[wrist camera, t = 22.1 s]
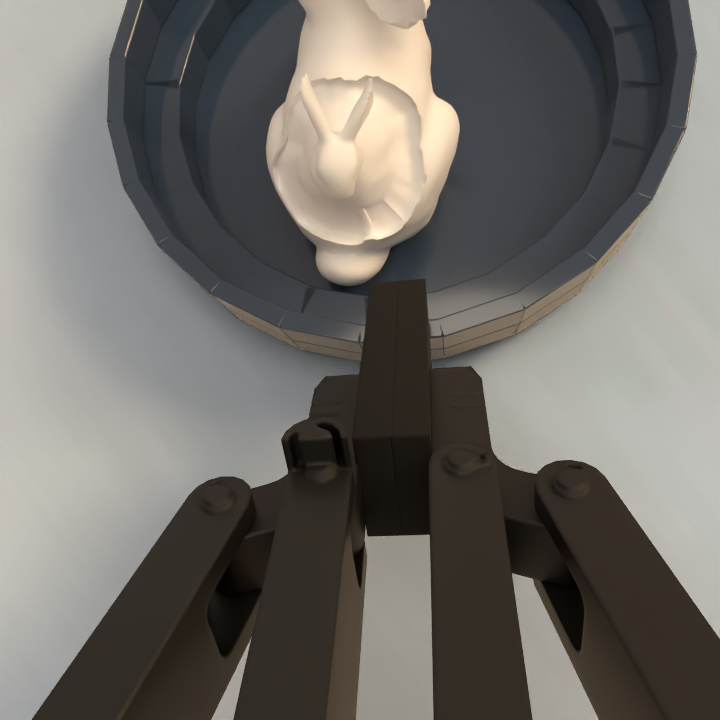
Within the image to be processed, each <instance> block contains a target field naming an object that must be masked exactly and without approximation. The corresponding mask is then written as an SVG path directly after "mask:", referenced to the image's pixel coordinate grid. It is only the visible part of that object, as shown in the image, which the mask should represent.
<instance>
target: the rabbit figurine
mask: <svg viewBox="0 0 720 720" xmlns="http://www.w3.org/2000/svg"><path fill="white" fill-rule="evenodd" d="M298 1H299V2H300V4H301V5H302V6H303V8H304V9H305V11H306V18H305V21H304V24H303V27H302V31H301V35H300V42H299V49H298V58H297V66H296V71H295V73H294V76H293V78H292V81H291V84H290V87H289V90H288V93H287V97H286V101H285V102H284V103H283V104H282V105H281V106H280V107H279V108H278V109H277V110H276V112H275V113H274V115H273V117H272V119H271V122H270V125H269V130H268V135H267V143H266V158H267V165H268V169H269V173H270V175H271V178H272V181H273V184H274V187H275V189H276V191H277V193H278V195H279V197H280V199H281V200H282V202H283V204H284V205H285V207H286V209H287V210H288V212H289V213H290V215H291V217H292V218H293V220H294V221H295V222H296V224H297V225H298V227H299V228H300V230H301V231H302V233H303V234H304V235H305V236H306V237H307V238H308V239H309V240H310V241H311V242H312V243H313V244H315V245H316V248H317V251H316V265H317V268H318V270H319V272H320V274H321V275H322V276H323V277H324V278H325V279H327V280H329V281H330V282H333V283H335V284H338V285H341V286H355V285H359V284H362V283H365V282H366V281H368V280H370V279H371V278H372V277H373V276H375V275H376V274H377V273H378V272H379V271H380V270H381V268H382V267H383V265H384V263H385V261H386V260H387V257H388V255H389V251H390V249H391V247H393V246H394V245H397V244H399V243H401V242H403V241H405V240H407V239H409V238H411V237H413V236H414V235H416V234H417V233H418V232H419V231H420V230H421V229H422V228H423V227H424V226H425V225H426V224H427V223H428V222H429V220H430V218H431V217H432V215H433V213H434V210H435V208H436V205H437V202H438V198H439V195H440V193H441V191H442V188H443V186H444V184H445V182H446V179H447V176H448V173H449V169H450V166H451V164H452V161H453V159H454V156H455V153H456V148H457V143H458V137H459V131H460V125H459V119H458V116H457V114H456V112H455V110H454V109H453V107H452V106H451V105H450V104H448V103H447V102H445V101H444V100H442V99H440V98H438V97H437V96H436V95H435V94H434V92H433V88H432V82H431V73H430V68H431V44H430V41H429V38H428V36H427V34H426V31H425V27H424V23H423V20H422V19H424V18H427V9H428V8H429V6H430V0H298Z"/></svg>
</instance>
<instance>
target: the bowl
mask: <svg viewBox="0 0 720 720" xmlns="http://www.w3.org/2000/svg"><path fill="white" fill-rule="evenodd" d="M305 18H306V11H305V9H304V8H303V6H302V5H301V4H300V2H299V1H298V0H127V3H126V6H125V10H124V13H123V16H122V19H121V22H120V26H119V29H118V32H117V35H116V38H115V41H114V45H113V48H112V51H111V54H110V58H109V82H108V108H107V122H108V128H109V132H110V136H111V140H112V144H113V148H114V152H115V156H116V161H117V165H118V169H119V173H120V177H121V181H122V185H123V187H124V190H125V191H126V193H127V195H128V196H129V198H130V200H131V202H132V203H133V205H134V207H135V208H136V210H137V212H138V213H139V215H140V217H141V218H142V220H143V222H144V223H145V225H146V227H147V228H148V230H149V232H150V233H151V235H152V237H153V238H154V240H155V242H156V243H157V245H158V246H159V247H160V248H161V249H162V250H163V251H164V252H165V253H166V254H167V255H168V256H169V257H170V258H171V259H173V260H174V261H175V262H176V263H177V264H178V265H179V266H180V267H181V268H182V269H183V270H185V271H186V272H187V273H188V274H189V275H190V276H191V277H192V278H193V279H194V280H196V281H197V282H198V283H199V284H200V285H201V286H202V287H203V288H204V289H205V290H206V291H208V292H209V293H210V294H211V295H212V296H213V297H214V298H216V299H217V300H218V301H219V302H220V303H221V304H223V305H224V306H225V307H226V308H227V309H228V310H230V311H231V312H232V313H233V314H234V315H235V316H237V317H238V318H239V319H241V320H242V321H244V322H246V323H248V324H250V325H252V326H254V327H256V328H258V329H260V330H262V331H264V332H266V333H268V334H270V335H272V336H274V337H276V338H278V339H280V340H282V341H284V342H286V343H288V344H290V345H292V346H294V347H296V348H298V349H302V350H305V351H310V352H315V353H320V354H325V355H330V356H335V357H341V358H346V359H351V360H356V361H361V357H362V349H363V341H364V332H365V324H366V316H367V307H368V299H369V290H370V283H374V282H387V281H400V280H414V279H426V292H427V306H428V319H429V333H430V346H431V359H443V358H444V357H450V356H453V355H456V354H459V353H462V352H465V351H468V350H471V349H474V348H477V347H480V346H483V345H486V344H489V343H492V342H495V341H498V340H501V339H504V338H507V337H510V336H513V335H514V334H518V333H519V332H521V331H522V330H524V329H525V328H527V327H528V326H530V325H531V324H533V323H534V322H536V321H537V320H539V319H541V318H542V317H544V316H545V315H547V314H548V313H550V312H551V311H553V310H554V309H556V308H557V307H559V306H560V305H562V304H564V303H565V302H567V301H568V300H570V299H571V298H573V297H574V296H576V295H577V293H579V292H580V291H581V290H582V289H583V288H584V287H585V286H586V284H587V283H588V282H589V281H590V280H591V279H592V278H593V277H594V275H595V274H596V273H597V272H598V271H599V270H600V269H601V268H602V266H603V265H604V264H605V263H606V262H607V261H608V260H609V259H610V257H611V256H612V255H613V254H614V253H615V252H616V251H617V250H618V248H619V247H620V246H621V245H622V244H623V243H624V242H625V240H626V239H627V237H628V236H629V234H630V233H631V231H632V230H633V228H634V227H635V225H636V224H637V222H638V221H639V219H640V218H641V216H642V215H643V213H644V212H645V210H646V209H647V207H648V206H649V204H650V203H651V201H652V200H653V198H654V196H655V194H656V192H657V190H658V187H659V185H660V183H661V181H662V179H663V177H664V175H665V173H666V171H667V169H668V167H669V165H670V162H671V160H672V158H673V156H674V154H675V152H676V150H677V148H678V146H679V144H680V142H681V139H682V137H683V135H684V133H685V130H686V128H687V121H688V114H689V108H690V101H691V94H692V88H693V81H694V74H695V68H696V61H697V51H696V45H695V39H694V33H693V27H692V20H691V14H690V8H689V2H688V0H430V6H429V8H428V9H427V18H424V19H422V20H423V23H424V27H425V31H426V34H427V36H428V38H429V41H430V44H431V68H430V73H431V82H432V88H433V92H434V94H435V95H436V96H437V97H438V98H440V99H442V100H444V101H445V102H447V103H448V104H450V105H451V106H452V107H453V109H454V110H455V112H456V114H457V116H458V119H459V125H460V131H459V137H458V143H457V148H456V153H455V156H454V159H453V161H452V164H451V166H450V169H449V173H448V176H447V179H446V182H445V184H444V186H443V188H442V191H441V193H440V195H439V198H438V202H437V205H436V208H435V210H434V213H433V215H432V217H431V218H430V220H429V222H428V223H427V224H426V225H425V226H424V227H423V228H422V229H421V230H420V231H419V232H418V233H417V234H416V235H414V236H413V237H411V238H409V239H407V240H405V241H403V242H401V243H399V244H397V245H394V246H393V247H391V249H390V251H389V255H388V257H387V260H386V261H385V263H384V265H383V267H382V268H381V270H380V271H379V272H378V273H377V274H376V275H375V276H373V277H372V278H371V279H370V280H368V281H366V282H365V283H362V284H359V285H355V286H341V285H338V284H335V283H333V282H330V281H329V280H327V279H325V278H324V277H323V276H322V275H321V274H320V272H319V270H318V268H317V265H316V251H317V248H316V245H315V244H313V243H312V242H311V241H310V240H309V239H308V238H307V237H306V236H305V235H304V234H303V233H302V231H301V230H300V228H299V227H298V225H297V224H296V222H295V221H294V220H293V218H292V217H291V215H290V213H289V212H288V210H287V209H286V207H285V205H284V204H283V202H282V200H281V199H280V197H279V195H278V193H277V191H276V189H275V187H274V184H273V181H272V178H271V175H270V173H269V169H268V165H267V158H266V143H267V135H268V130H269V125H270V122H271V119H272V117H273V115H274V113H275V112H276V110H277V109H278V108H279V107H280V106H281V105H282V104H283V103H284V102H285V101H286V97H287V93H288V90H289V87H290V84H291V81H292V78H293V76H294V73H295V71H296V66H297V58H298V49H299V42H300V35H301V31H302V27H303V24H304V21H305Z"/></svg>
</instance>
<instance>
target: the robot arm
mask: <svg viewBox="0 0 720 720" xmlns="http://www.w3.org/2000/svg"><path fill="white" fill-rule="evenodd" d="M281 441H282V446H283V450H284V454H285V459H286V463H287V467H288V474H287V475H286V476H285V477H283V478H281V479H279V480H278V481H275V482H272V483H269V484H266V485H263V486H259V487H256V488H252V489H250V486H249V485H248V484H247V483H246V482H245V481H244V480H242V479H239V478H236V477H218V478H215V479H211V480H208V481H206V482H205V483H203V484H201V485H199V486H198V487H197V488H196V489H195V490H194V491H193V492H192V493H191V494H190V495H189V496H188V498H187V499H186V500H185V502H184V503H183V505H182V506H181V508H180V509H179V510H178V512H177V513H176V515H175V516H174V517H173V519H172V520H171V522H170V523H169V525H168V526H167V527H166V529H165V530H164V532H163V533H162V535H161V536H160V537H159V539H158V540H157V542H156V543H155V545H154V546H153V547H152V549H151V550H150V552H149V553H148V555H147V556H146V557H145V559H144V560H143V562H142V563H141V565H140V566H139V567H138V569H137V570H136V572H135V573H134V575H133V576H132V577H131V579H130V580H129V582H128V583H127V585H126V586H125V587H124V589H123V590H122V592H121V593H120V595H119V596H118V597H117V599H116V600H115V602H114V603H113V604H112V606H111V607H110V609H109V610H108V612H107V613H106V614H105V616H104V617H103V619H102V620H101V622H100V623H99V624H98V626H97V627H96V629H95V630H94V632H93V633H92V634H91V636H90V637H89V639H88V640H87V642H86V643H85V644H84V646H83V647H82V649H81V650H80V652H79V653H78V654H77V656H76V657H75V659H74V660H73V662H72V663H71V664H70V666H69V667H68V669H67V670H66V672H65V673H64V674H63V676H62V677H61V679H60V680H59V682H58V683H57V684H56V686H55V687H54V689H53V690H52V691H51V693H50V694H49V696H48V697H47V699H46V700H45V701H44V703H43V704H42V706H41V707H40V709H39V710H38V711H37V713H36V714H35V716H34V717H33V719H32V720H211V719H212V717H213V715H214V713H215V711H216V708H217V706H218V704H219V702H220V700H221V698H222V696H223V694H224V692H225V690H226V688H227V686H228V684H229V682H230V680H231V678H232V676H233V674H234V672H235V670H236V667H237V665H238V663H239V661H240V659H241V657H242V655H243V653H244V651H245V649H246V647H247V645H248V643H249V641H250V639H251V643H250V647H249V652H248V656H247V661H246V665H245V670H244V674H243V679H242V683H241V688H240V692H239V697H238V701H237V706H236V710H235V715H234V719H233V720H356V707H357V692H358V678H359V664H360V650H361V636H362V622H363V608H364V593H365V579H366V565H367V553H366V547H365V541H364V538H365V526H366V529H367V535H368V536H398V535H430V558H431V608H432V657H433V707H434V720H532V713H531V706H530V699H529V692H528V685H527V678H526V671H525V664H524V656H523V649H522V642H521V635H520V628H519V621H518V614H517V607H516V600H515V593H514V586H513V579H512V573H513V574H517V575H521V576H525V577H529V578H533V581H534V585H535V587H536V589H537V591H538V593H539V596H540V598H541V600H542V602H543V604H544V606H545V608H546V610H547V612H548V614H549V616H550V618H551V621H552V623H553V625H554V627H555V629H556V631H557V633H558V635H559V637H560V639H561V641H562V643H563V646H564V648H565V650H566V652H567V654H568V656H569V658H570V660H571V662H572V664H573V666H574V669H575V671H576V673H577V675H578V677H579V679H580V681H581V683H582V685H583V687H584V689H585V691H586V694H587V696H588V698H589V700H590V702H591V704H592V706H593V708H594V710H595V712H596V714H597V717H598V719H599V720H720V639H719V637H718V636H717V635H716V633H715V632H714V630H713V629H712V628H711V626H710V625H709V623H708V622H707V620H706V619H705V618H704V616H703V615H702V613H701V612H700V611H699V609H698V608H697V606H696V605H695V603H694V602H693V601H692V599H691V598H690V596H689V595H688V593H687V592H686V591H685V589H684V588H683V586H682V585H681V584H680V582H679V581H678V579H677V578H676V576H675V575H674V574H673V572H672V571H671V569H670V568H669V567H668V565H667V564H666V562H665V561H664V559H663V558H662V557H661V555H660V554H659V552H658V551H657V550H656V548H655V547H654V545H653V544H652V542H651V541H650V540H649V538H648V537H647V535H646V534H645V533H644V531H643V530H642V528H641V527H640V525H639V524H638V523H637V521H636V520H635V518H634V517H633V516H632V514H631V513H630V511H629V510H628V508H627V507H626V506H625V504H624V503H623V501H622V500H621V499H620V497H619V496H618V494H617V493H616V491H615V490H614V489H613V487H612V486H611V484H610V483H609V482H608V480H607V479H606V477H605V476H604V475H603V474H602V473H601V472H600V471H599V470H597V469H596V468H594V467H592V466H590V465H588V464H586V463H584V462H578V461H573V460H564V461H555V462H553V463H550V464H547V465H545V466H544V467H543V468H542V469H541V470H540V471H538V472H537V474H533V473H527V472H523V471H519V470H516V469H513V468H511V467H509V466H507V465H505V464H504V463H502V462H501V461H500V460H498V458H497V457H496V456H495V454H494V453H493V450H492V447H491V441H490V434H489V427H488V420H487V413H486V407H485V399H484V392H483V385H482V378H481V377H480V376H479V375H478V374H477V373H476V371H475V370H474V369H473V368H472V367H471V366H469V367H452V368H435V369H432V360H431V346H430V333H429V319H428V306H427V292H426V279H414V280H400V281H387V282H374V283H370V290H369V299H368V307H367V316H366V324H365V332H364V341H363V349H362V357H361V366H360V374H359V375H343V376H326V377H325V378H324V379H323V380H322V381H321V382H320V384H319V385H318V386H317V387H316V388H315V389H314V394H313V399H312V406H311V409H310V413H309V418H308V419H307V420H304V421H301V422H299V423H297V424H294V425H293V426H292V427H291V428H290V429H288V430H287V431H286V432H285V434H284V436H283V437H282V439H281ZM251 637H252V638H251Z"/></svg>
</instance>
